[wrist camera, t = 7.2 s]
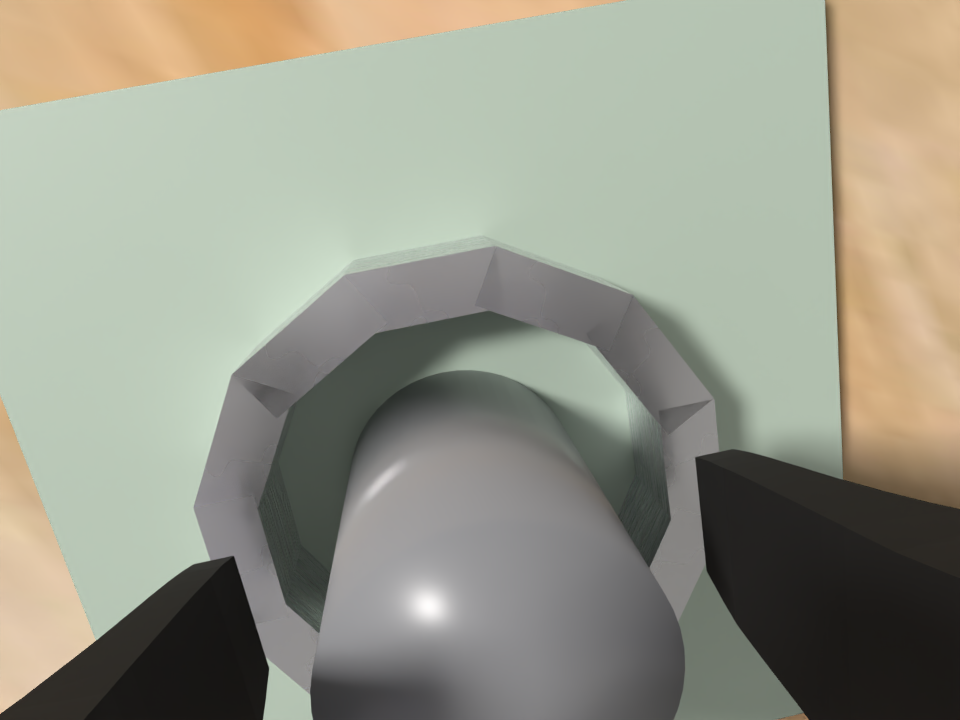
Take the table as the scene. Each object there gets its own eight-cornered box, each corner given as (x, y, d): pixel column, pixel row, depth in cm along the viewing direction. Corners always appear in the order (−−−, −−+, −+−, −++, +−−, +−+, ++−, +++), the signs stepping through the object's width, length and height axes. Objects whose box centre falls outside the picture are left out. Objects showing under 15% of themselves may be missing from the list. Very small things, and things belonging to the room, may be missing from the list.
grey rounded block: (554, 349, 14) (664, 482, 8) (588, 561, 15) (703, 810, 9) (326, 395, 13) (264, 568, 8) (381, 607, 15) (364, 890, 9)
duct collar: (697, 609, 15) (739, 671, 14) (296, 699, 15) (280, 777, 13) (653, 202, 13) (696, 207, 11) (172, 294, 13) (131, 316, 11)
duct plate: (826, 672, 18) (851, 701, 17) (194, 820, 17) (181, 859, 16) (793, -19, 13) (823, -35, 12) (-64, 132, 12) (-104, 128, 11)
